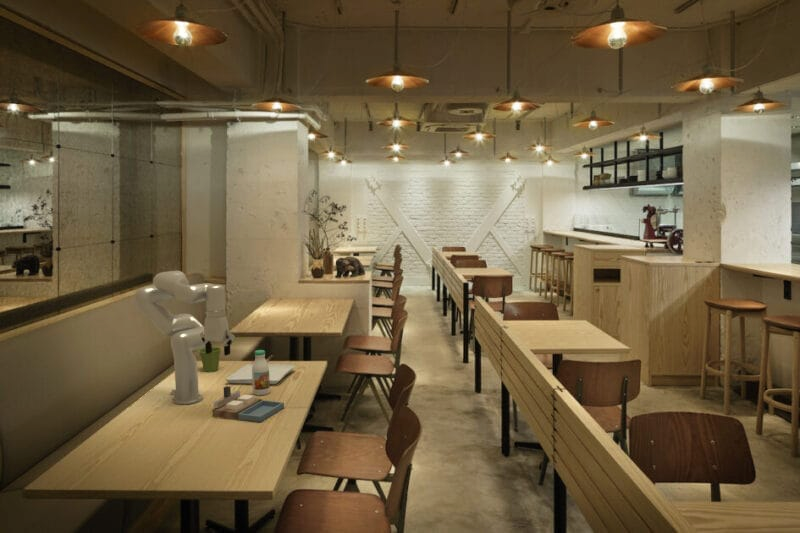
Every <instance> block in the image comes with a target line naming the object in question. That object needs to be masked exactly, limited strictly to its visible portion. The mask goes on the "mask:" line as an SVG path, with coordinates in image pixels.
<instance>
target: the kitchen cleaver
mask: <svg viewBox="0 0 800 533" xmlns="http://www.w3.org/2000/svg"><path fill="white" fill-rule="evenodd" d="M273 358H275V355H274V354H271V355H269V357H267V358H265V360H266V362H267V363H269V361H271V360H272V359H273Z"/></svg>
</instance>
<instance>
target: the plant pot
mask: <svg viewBox="0 0 800 533" xmlns="http://www.w3.org/2000/svg"><path fill="white" fill-rule="evenodd" d="M197 351H198V354H199V356H200V360H201V363H202V367H203V371H204V372H207V373H212V372H215V371H218V370H219V364H220V357H221V356H220V355H221V351H222V347H218V346H212V352H211V353H208V354H206V349H205V347H204V348H201V349H197Z"/></svg>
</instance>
